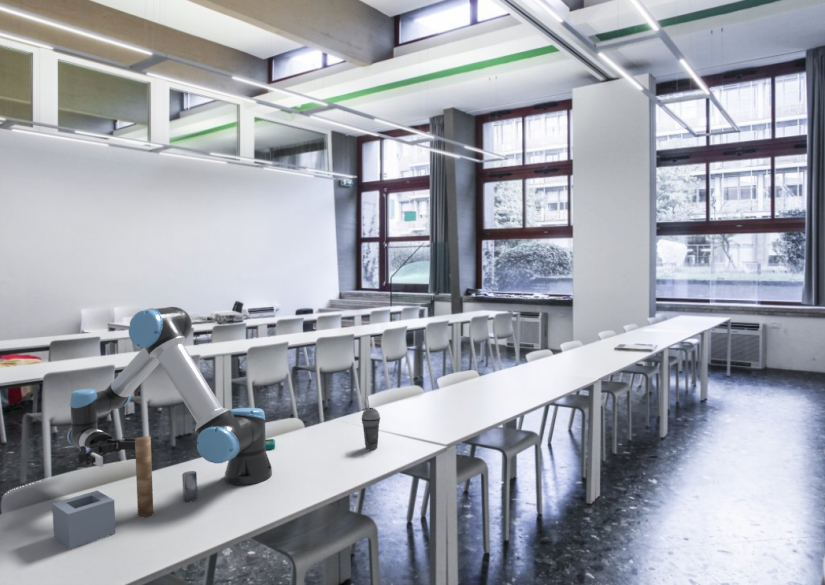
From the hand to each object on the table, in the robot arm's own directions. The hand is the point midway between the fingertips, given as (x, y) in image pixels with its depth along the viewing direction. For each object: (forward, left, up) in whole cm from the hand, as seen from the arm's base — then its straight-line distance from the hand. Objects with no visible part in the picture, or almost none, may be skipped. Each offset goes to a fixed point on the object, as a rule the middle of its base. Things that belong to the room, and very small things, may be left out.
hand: (125, 455), depth 167 cm
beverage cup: (-83, +21, -15) cm, 87 cm away
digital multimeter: (-56, -16, -16) cm, 60 cm away
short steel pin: (-14, +11, -15) cm, 23 cm away
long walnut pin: (0, +11, -15) cm, 18 cm away
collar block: (+16, +11, -15) cm, 24 cm away
